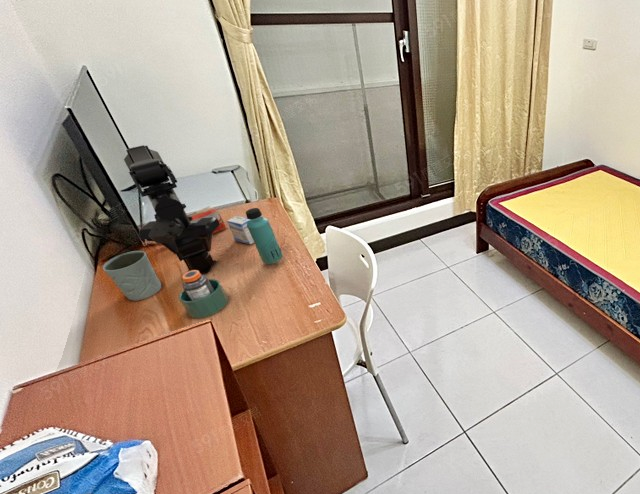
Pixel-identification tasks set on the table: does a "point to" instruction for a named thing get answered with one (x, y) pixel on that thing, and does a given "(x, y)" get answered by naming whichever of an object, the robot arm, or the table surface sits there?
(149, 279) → the grey green planter pot
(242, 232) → the medicine box
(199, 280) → the pill bottle
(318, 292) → the table surface
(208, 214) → the medicine box
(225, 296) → the green bowl
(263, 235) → the beverage bottle
